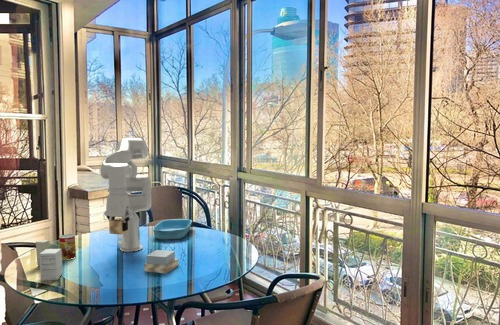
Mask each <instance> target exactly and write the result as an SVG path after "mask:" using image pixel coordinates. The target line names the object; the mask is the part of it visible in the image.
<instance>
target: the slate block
mask: <svg viewBox="0 0 500 325" xmlns="http://www.w3.org/2000/svg"><path fill="white" fill-rule="evenodd" d="M175 252H176V251H175V250H165V249H164V250H162V249H156V250H154V251H152V252H151V253H148V255H146V263H147V264H154V265H167V264H169V263H170V262H171V261H173V260H174V259H175V258H176V256H175V255H176V253H175Z"/></svg>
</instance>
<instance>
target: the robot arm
mask: <svg viewBox="0 0 500 325" xmlns="http://www.w3.org/2000/svg"><path fill="white" fill-rule="evenodd" d="M114 150H115V152H113V153H110V154H109V155H107V156H105V158H103V161H102V163H101V165H100V172H99V173H100V176H101V178H103V179H104V180H108V188H107V192H108V195H107V197H106V208H105V211H104V212H103V214H104V216H106V218H107V220H108V222H109V221H110V220H113V219H116V218H122V220H123V223H122V230H123V231H126V230H129V231H128V232H126V233H123V234H121V236H122V237H121V238H122V240H118V241H117V246H120V247H119V251H120V250H121V251H120V252H123V251H124V252H123V253H131V252H132V253H134V252H137V251H138V250H139V251H141V250H143V248H144V246H143V245H142V244H141V238H140V218H139V217H140V216H138V214H137V213H136V212H138V211H139V212H141V211H149V210H151V208H152V183H151V182H152V181H151V178H150V176H149V175H148V174H147V175H146V174H138V166H137V164H136V163H135V162H134V160H145V159H147V157H148V155H149V154H148V153H149V151H148V150H149V149H148V146H147V143H146V142H145V140H144V139H142V138H139V137H138V138H136V137H135V138H133V137H132V138H122V139H119V141H118V142H117V144H116V147H115V149H114ZM135 192H136V193H135ZM139 192H141V193H139ZM127 193H128V194H127ZM129 193H132V194H129ZM133 251H134V252H133Z"/></svg>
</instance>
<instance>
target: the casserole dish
mask: <svg viewBox="0 0 500 325" xmlns="http://www.w3.org/2000/svg"><path fill="white" fill-rule="evenodd" d="M192 223H193V221H192V219H186V218H174V219H172V218H171V219H165V220H164V219H163V220H160V221H159V222H158V223H157V224H156V225H154V226H153V228H152V232H153V233H154V236H155V237H156V239H158V240H180V239H183V238H184V237H185V236H186V235H187V234H188V232H189V231H190V229H191V227H192Z"/></svg>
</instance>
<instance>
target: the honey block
mask: <svg viewBox="0 0 500 325" xmlns="http://www.w3.org/2000/svg"><path fill="white" fill-rule="evenodd" d="M122 223H123V220H122V217H115V219H113V220H110V221H109V220H108V225H109V226H108V228H109V229H108V230H109V234H112V235H121V236H122V234H123V233H126V232H128V231H129V230H126V231H123V230H122Z"/></svg>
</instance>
